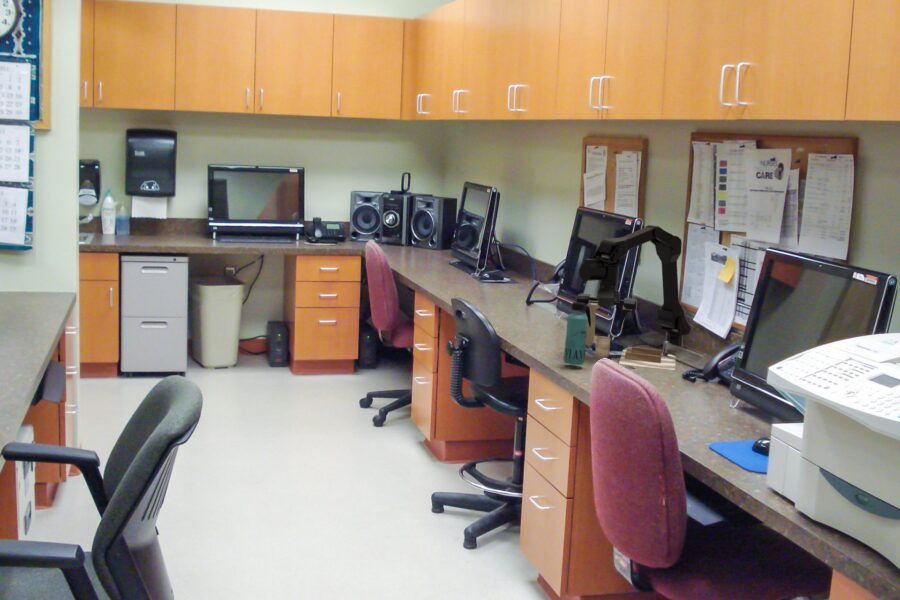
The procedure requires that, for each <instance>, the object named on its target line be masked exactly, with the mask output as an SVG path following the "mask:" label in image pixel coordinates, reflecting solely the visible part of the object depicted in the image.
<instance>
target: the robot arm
mask: <svg viewBox="0 0 900 600" xmlns="http://www.w3.org/2000/svg"><path fill="white" fill-rule="evenodd" d="M648 242H650V243H651V244H653V246H654V247H655V253H656V255H657V257H658V258H659V260H660V262H661V275H662V277H661V278H662V294H663V295H662V296H663V303H662V306H661V307H660V308H657V315H658V316H657V321H659V324H660V328H661V331H665V332H666V333H665V341H669V343H672V344H674V345H677V346H680V347H682V348H683V342H684V336H687V335H690V333H691V330H692V329H691V326H690V325H689V323H688V321H687V320H686V315H685V311H684V310H685V309H683V307H682V305H681V304H680V301H679V300H680V299H679V297H680V296H679V280H678V260H679V257H680V256H681V254H682V246H683V245H682V244H683V243H682V239H681V238H680V237H679V236H677V235H674V234H672V233H670V232H668V231H666V230H665V229H663V228H662V227H660V226H658V225H653V224H648V225H646V226H644V227H643V228H641V229H638V230H635V231H633V232H630V233H629V234H626V235H623V236H621V237H611V238H606V239H603V240H601V241H600V244H599V246H598V247H597V249H596V251H595V252H594V254H593V255H592V256H591V258H585V259H584V262H583V263H582V264H581V265H580V267H579V268H578V272H579V273H578V274H579V278H580V279H581V280H582V281H584V282H591V281H593V282H595V281H599V283H598V290H597V296H596V297H593V296H592V294H589V293H579V294H578V295H577V297H576V302H581V303H585V310H584V312H586V315H587V317H588V323H589V327H591V322H592V320H591V304H590V303H597V304H598V305H599V307H609V308H611V307H613V306H620V307H622V309H621V314H620V318H619V322H618V331H620V330H621V328H622V326H623V323H624V320H625V319H626V316H627V315H628V313H631V312H632V311H635V310H637V306H638V299H637V298H634V297H624V299H621V291H618V282H619V273H620V267H625V263H624V262H623V261H622V258H624V256H626V255H627V254H628V252H629V251H630V250H632V249H634V248H637V247H639V246H641V245H644V244H646V243H648ZM591 296H592V297H591Z"/></svg>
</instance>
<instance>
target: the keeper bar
mask: <svg viewBox="0 0 900 600" xmlns="http://www.w3.org/2000/svg"><path fill="white" fill-rule="evenodd" d="M668 354H669V355H673V356H676V358H679V359H681V360H683V361H686V362H688V363H691V364H694V365H696V366H698V367H704V365H705V355H703V354H700V353H699V352H695V351H692V350H690V349H687V348H684V347H683V346H682V347H680V346H677V345H674V344H672V343H669V341H666V340H663V346H662V355H668Z"/></svg>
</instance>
